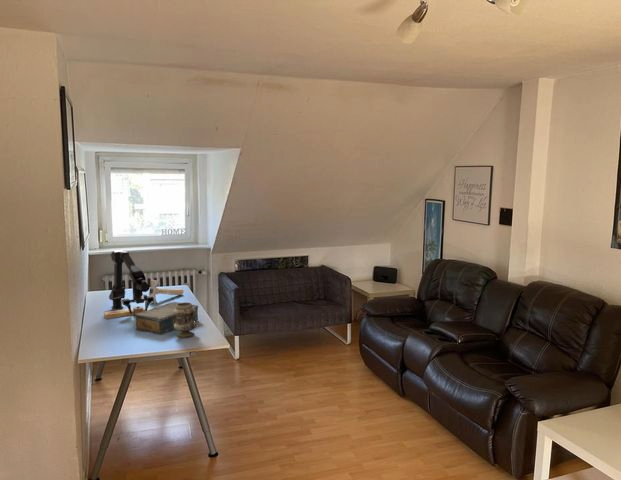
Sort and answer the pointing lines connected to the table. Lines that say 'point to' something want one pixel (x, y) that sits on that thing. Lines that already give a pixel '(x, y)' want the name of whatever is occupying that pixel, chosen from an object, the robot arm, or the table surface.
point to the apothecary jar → (184, 319)
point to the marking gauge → (137, 310)
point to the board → (119, 313)
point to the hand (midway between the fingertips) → (138, 313)
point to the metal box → (159, 319)
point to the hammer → (162, 290)
